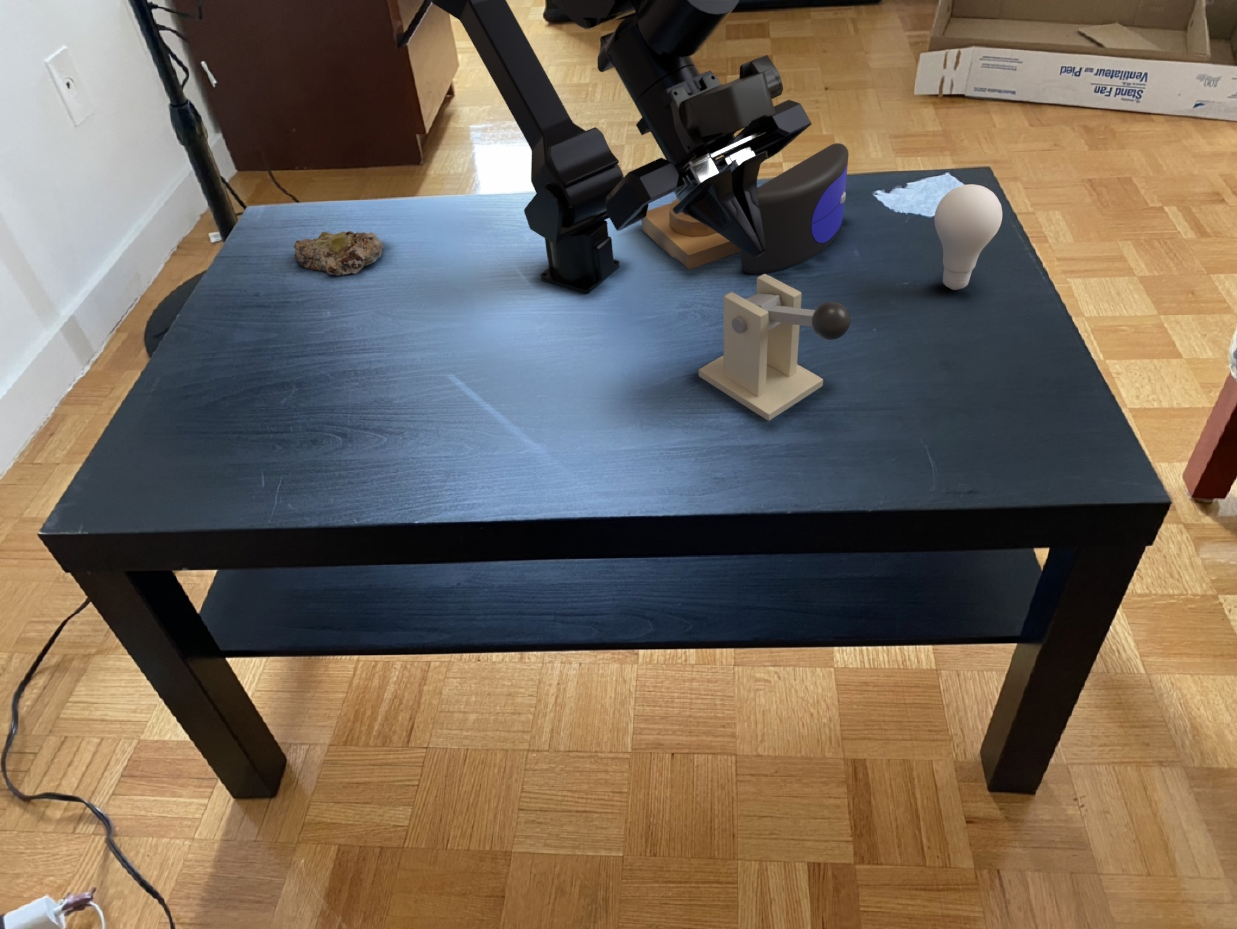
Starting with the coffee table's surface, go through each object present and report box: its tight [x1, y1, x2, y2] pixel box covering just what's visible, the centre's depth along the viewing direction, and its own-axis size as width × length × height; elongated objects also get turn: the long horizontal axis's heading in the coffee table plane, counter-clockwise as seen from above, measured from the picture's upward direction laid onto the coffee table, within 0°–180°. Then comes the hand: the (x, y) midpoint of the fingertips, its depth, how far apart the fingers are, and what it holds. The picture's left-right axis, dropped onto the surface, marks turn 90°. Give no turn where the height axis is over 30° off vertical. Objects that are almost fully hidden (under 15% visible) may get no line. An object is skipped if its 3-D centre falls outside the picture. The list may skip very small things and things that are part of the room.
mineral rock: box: [293, 230, 385, 277], centre depth 110 cm, size 11×4×8 cm
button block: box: [641, 198, 741, 270], centre depth 106 cm, size 11×9×4 cm
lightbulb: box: [933, 183, 1003, 291], centre depth 93 cm, size 6×6×11 cm
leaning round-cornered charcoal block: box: [740, 142, 850, 275], centre depth 101 cm, size 16×5×9 cm, turn 134°
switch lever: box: [745, 292, 851, 341], centre depth 79 cm, size 11×3×3 cm, turn 39°
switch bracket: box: [698, 273, 824, 422], centre depth 84 cm, size 9×7×10 cm
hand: (760, 254), depth 79 cm, fingers closed
